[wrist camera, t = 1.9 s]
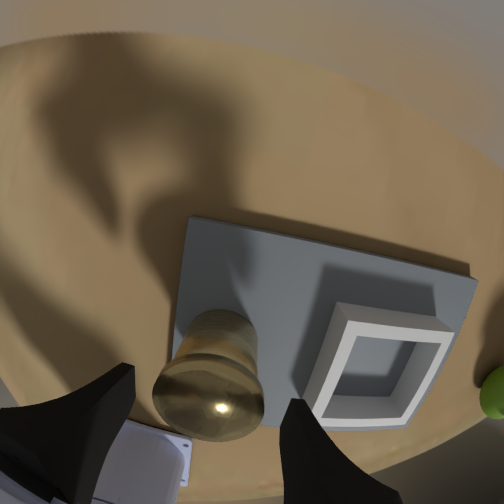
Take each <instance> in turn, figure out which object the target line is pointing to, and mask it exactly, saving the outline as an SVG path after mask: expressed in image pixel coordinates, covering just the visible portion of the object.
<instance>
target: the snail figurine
mask: <svg viewBox="0 0 504 504" xmlns="http://www.w3.org/2000/svg"><path fill="white" fill-rule="evenodd" d="M480 405H481V408H482V410H483V412H484V413H485V414H486V415H487V416H489V417H491V418H494V419H502V418H504V366H500V367H498V368H496V369H495V370H494V371H492V372H491V373H490V374H489V375H488V377H487V378H486V379H485V381H484V383H483V385H482V388H481V391H480ZM503 433H504V428H503Z"/></svg>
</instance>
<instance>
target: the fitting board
mask: <svg viewBox="0 0 504 504" xmlns="http://www.w3.org/2000/svg"><path fill="white" fill-rule="evenodd" d="M477 283H478V280H477V279H475V278H473V277H471V276H467V275H463V274H459V273H455V272H451V271H447V270H443V269H439V268H435V267H431V266H427V265H423V264H418V263H414V262H410V261H406V260H402V259H397V258H393V257H389V256H384V255H380V254H376V253H371V252H367V251H362V250H358V249H353V248H349V247H344V246H340V245H335V244H331V243H326V242H321V241H317V240H312V239H307V238H303V237H298V236H293V235H288V234H283V233H278V232H274V231H269V230H264V229H259V228H254V227H249V226H244V225H239V224H233V223H228V222H223V221H218V220H213V219H207V218H202V217H197V216H191V217H189V218H188V224H187V231H186V237H185V244H184V251H183V258H182V266H181V273H180V281H179V290H178V298H177V308H176V317H175V327H174V338H173V350H172V360H173V359H174V357H175V355H176V353H177V350H178V348H179V346H180V344H181V342H182V340H183V337H184V335H185V333H186V331H187V329H188V327H189V325H190V323H191V322H192V320H193V319H194V318H195V317H196V316H198V315H199V314H201V313H203V312H205V311H208V310H212V309H226V310H231V311H234V312H236V313H238V314H240V315H242V316H243V317H245V318H246V319H247V320H248V321H249V322H250V323H251V324H252V325H253V327H254V328H255V330H256V333H257V336H258V380H259V381H260V383H261V385H262V388H263V391H264V407H265V408H264V416H263V419H262V421H261V423H260V424H259V425H261V426H269V427H279V428H280V425H281V423H282V420H283V418H284V415H285V413H286V410H287V408H288V405H289V403H290V400H291V398H297V399H304V400H305V401H306V403H307V404H308V406H309V408H310V409H311V411H312V413H313V414H314V416H315V417H316V419H317V420H318V422H319V423H320V425H321V426H322V428H323V429H324V430H325V431H367V430H388V429H401V428H407V426H408V425H409V423H410V422H411V420H412V419H413V417H414V415H415V414H416V412H417V411H418V409H419V408H420V406H421V404H422V403H423V401H424V399H425V398H426V396H427V394H428V393H429V391H430V389H431V387H432V386H433V384H434V382H435V380H436V378H437V377H438V375H439V373H440V371H441V369H442V367H443V365H444V363H445V361H446V359H447V357H448V355H449V353H450V351H451V349H452V347H453V345H454V342H455V340H456V338H457V336H458V333H459V331H460V329H461V326H462V324H463V322H464V319H465V317H466V314H467V312H468V309H469V306H470V304H471V301H472V298H473V295H474V292H475V289H476V287H477Z"/></svg>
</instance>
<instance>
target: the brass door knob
mask: <svg viewBox="0 0 504 504" xmlns="http://www.w3.org/2000/svg"><path fill="white" fill-rule="evenodd" d="M152 398H153V403H154V406H155V408H156V410H157V412H158V413H159V415H160V416H161V417H162V419H163V420H164V421H165V422H166V423H167V424H169V425H170V426H171V427H172V428H174V429H175V430H177V431H179V432H180V433H182V434H184V435H187V436H189V437H192V438H195V439H199V440H203V441H211V442H224V441H231V440H236V439H239V438H242V437H244V436H246V435H248V434H250V433H251V432H252V431H254V430H255V429H256V428H257V427H258V426H259V424H260V423H261V421H262V419H263V416H264V408H265V407H264V391H263V388H262V385H261V383H260V381H259V380H258V336H257V333H256V330H255V328H254V327H253V325H252V324H251V323H250V322H249V321H248V320H247V319H246V318H245V317H243V316H242V315H240V314H238V313H236V312H234V311H231V310H226V309H212V310H208V311H205V312H203V313H201V314H199V315H198V316H196V317H195V318H194V319H193V320H192V322H191V323H190V325H189V327H188V329H187V331H186V333H185V335H184V337H183V340H182V342H181V344H180V346H179V348H178V350H177V353H176V355H175V357H174V359H173V360H172V361H170V362H169V363H168V364H166V365H165V366H164V368H163V369H162V370H161V372H160V374H159V376H158V378H157V380H156V382H155V384H154V387H153V391H152Z"/></svg>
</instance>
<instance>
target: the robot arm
mask: <svg viewBox="0 0 504 504" xmlns="http://www.w3.org/2000/svg"><path fill="white" fill-rule="evenodd" d="M135 398H136V392H135V366H133V365H130V364H127V363H124V362H122V363H120V364H119V365H117V366H116V367H114V368H113V369H111V370H110V371H108V372H107V373H105V374H104V375H102V376H101V377H99V378H97V379H96V380H94V381H93V382H91V383H89V384H87V385H86V386H84V387H82V388H80V389H78V390H76V391H74V392H72V393H70V394H68V395H65V396H62V397H60V398H57V399H54V400H50V401H47V402H44V403H40V404H35V405H30V406H23V407H11V408H1V409H0V504H176V500H177V496H178V492H179V487H180V486H187V485H188V478H189V469H190V460H191V451H192V443H193V440H192V439H191V438H190V437H188V436H184V435H180V434H176V433H172V432H168V431H164V430H160V429H157V428H153V427H150V426H146V425H143V424H140V423H137V422H134V421H131V420H128V419H127V417H128V415H129V413H130V410H131V408H132V405H133V403H134V400H135ZM279 445H280V455H281V463H282V472H283V481H284V504H403V503H402V500H401V498H400V495H399V493H398V492H397V491H396V490H394V489H392V488H390V487H388V486H386V485H384V484H382V483H380V482H379V481H377V480H375V479H374V478H372V477H371V476H369V475H368V474H366V473H365V472H364V471H362V470H361V469H360V468H359V467H357V466H356V465H355V464H354V463H353V462H352V461H350V460H349V459H348V458H347V457H346V456H345V455H344V454H343V453H342V452H341V451H340V450H339V448H338V447H337V446H336V445H335V444H334V442H333V441H332V440H331V439H330V437H329V436H328V435H327V433H326V432H325V431H324V429H323V428H322V426H321V425H320V423H319V422H318V420H317V419H316V417H315V416H314V414H313V413H312V411H311V409H310V408H309V406H308V404H307V403H306V401H305V400H304V399H297V398H291V400H290V403H289V405H288V408H287V410H286V413H285V415H284V418H283V420H282V423H281V425H280V442H279Z"/></svg>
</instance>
